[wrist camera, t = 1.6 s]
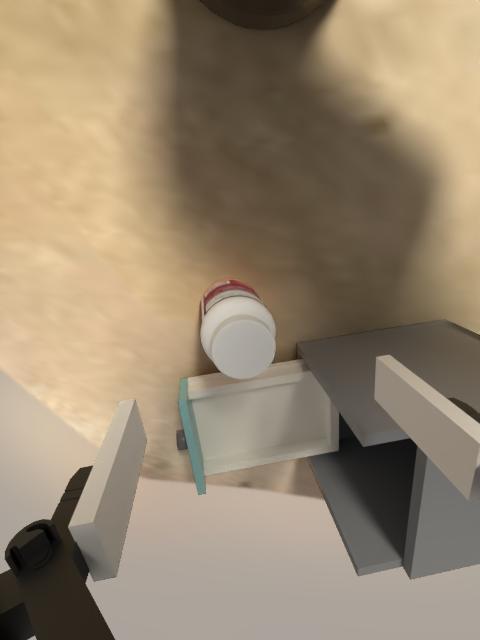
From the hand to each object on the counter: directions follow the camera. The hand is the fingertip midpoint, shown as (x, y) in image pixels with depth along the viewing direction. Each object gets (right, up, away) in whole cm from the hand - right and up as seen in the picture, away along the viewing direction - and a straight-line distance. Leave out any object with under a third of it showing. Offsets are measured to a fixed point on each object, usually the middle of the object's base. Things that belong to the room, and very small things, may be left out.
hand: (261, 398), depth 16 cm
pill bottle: (-2, +6, +16) cm, 17 cm away
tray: (+1, -7, +19) cm, 20 cm away
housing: (+15, -4, +21) cm, 26 cm away
